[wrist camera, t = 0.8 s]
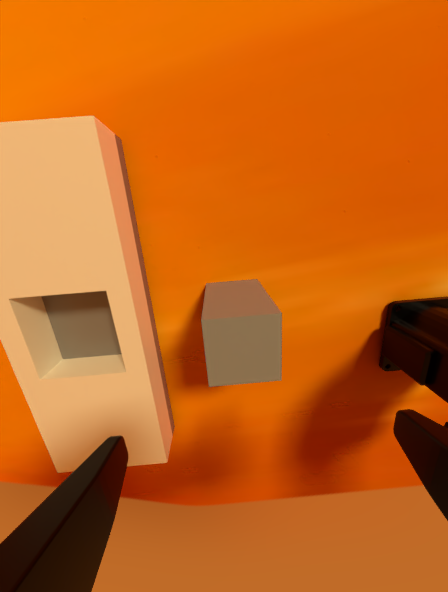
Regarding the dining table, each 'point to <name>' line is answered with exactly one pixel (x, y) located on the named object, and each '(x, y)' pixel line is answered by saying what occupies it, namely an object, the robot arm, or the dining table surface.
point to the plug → (241, 333)
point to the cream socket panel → (78, 293)
